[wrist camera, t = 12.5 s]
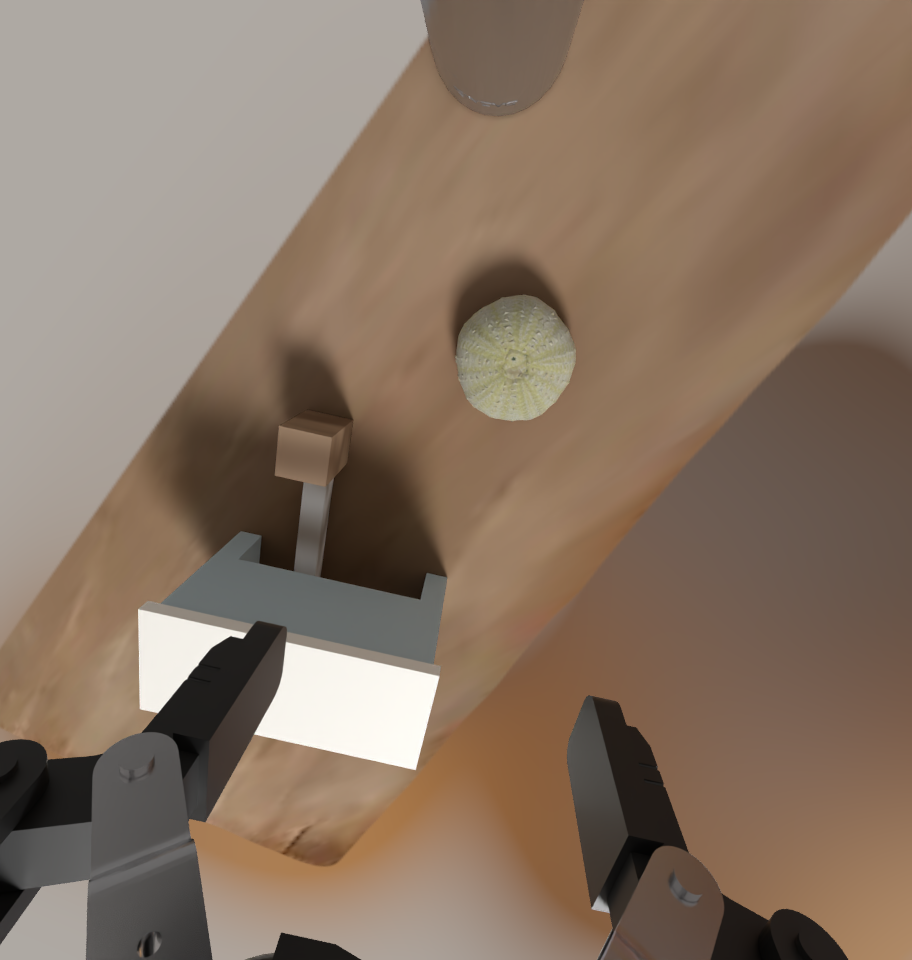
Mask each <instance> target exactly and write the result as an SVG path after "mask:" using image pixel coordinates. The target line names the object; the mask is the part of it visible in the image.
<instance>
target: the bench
mask: <svg viewBox="0 0 912 960" xmlns="http://www.w3.org/2000/svg"><path fill="white" fill-rule="evenodd" d="M261 537H262V536H260V535H256V534H251V533H247V532H243V531H240V532H239V533H238V534H237V535H236V536H235V537H234V538H233V539H232V540H230V541H229V542H228V543H227V544H226V545H225V546H224V547H223V548H222V549H220V550H219V551H218V552H217V553H216V554H215V555H214V556H213V557H212V558H210V559H209V560H208V561H207V562H206V563H205V564H204V565H203V566H202V567H200V568H199V569H198V570H197V571H196V572H195V573H194V574H193V575H192V576H190V577H189V578H188V579H187V580H186V581H185V582H184V583H183V584H182V585H180V586H179V587H178V588H177V589H176V590H175V591H174V592H173V593H172V594H170V595H169V596H168V597H167V598H166V599H165V600H164V601H163V602H162V603H156V602H151V601H147V602H146V603H145V604H144V605H143V606H142V607H140V608H139V609H138V617H139V682H140V709H142V710H147V711H151V712H156V713H158V712H159V711H160V710H161V709H162V708H163V706H164V705H165V704H166V703H167V701H168V700H169V699H170V698H171V697H172V695H173V694H174V693H175V692H176V690H177V689H178V688H179V687H180V686H181V684H182V683H183V682H184V681H185V680H187V678H188V676H189V675H190V673H191V672H192V671H193V670H194V668H195V667H197V666H198V664H199V662H200V661H201V660H202V659H203V657H204V656H205V655H206V654H207V653H208V651H209V650H210V649H211V648H212V647H213V646H215V645H217V644H218V643H220V642H222V641H223V640H225V639H226V638H228V637H230V636H232V637H237V638H241V639H243V638H244V637H245V635H246V634H247V633H248V631H249V630H250V629H251V627H252V626H253V625H254V623H255V622H256V621H263V622H267V623H272V624H276V625H281V626H285V627H286V628H287V638H286V647H285V655H284V664H283V672H282V678H281V681H280V685H279V688H278V690H277V693H276V695H275V697H274V699H273V701H272V703H271V704H270V706H269V708H268V710H267V712H266V713H265V715H264V717H263V719H262V721H261V723H260V724H259V726H258V728H257V730H256V732H255V733H254V734H255V735H260V736H264V737H269V738H273V739H278V740H283V741H287V742H292V743H296V744H301V745H305V746H310V747H314V748H319V749H323V750H328V751H332V752H337V753H341V754H346V755H350V756H355V757H359V758H364V759H369V760H373V761H378V762H382V763H387V764H391V765H396V766H400V767H405V768H409V769H414V770H416V766H417V762H418V758H419V754H420V750H421V746H422V742H423V738H424V735H425V731H426V727H427V723H428V719H429V715H430V711H431V707H432V703H433V699H434V695H435V692H436V688H437V684H438V680H439V676H440V668H441V666H438V665H434V658H435V651H436V645H437V639H438V633H439V627H440V620H441V614H442V608H443V602H444V595H445V589H446V583H447V577H443V576H438V575H434V574H430V573H427V574H426V578H425V582H424V587H423V591H422V595H421V599H420V600H419V599H415V598H410V597H406V596H401V595H397V594H392V593H388V592H383V591H379V590H374V589H370V588H365V587H361V586H357V585H352V584H348V583H343V582H339V581H334V580H330V579H325V578H321V577H316V576H312V575H307V574H303V573H299V572H294V571H290V570H285V569H281V568H276V567H272V566H267V565H263V564H259V561H260V549H261Z"/></svg>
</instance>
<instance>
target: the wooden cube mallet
mask: <svg viewBox="0 0 912 960" xmlns="http://www.w3.org/2000/svg"><path fill="white" fill-rule="evenodd" d="M352 426H353V420H352V419H347V418H343V417H338V416H334V415H330V414H325V413H321V412H316V411H312V410H306V411H304V412H302V413H301V414H299V415H297V416H295V417H294V418H292V419H290V420H288V421H287V422H285V423H283V424H281V425H279V431H278V443H277V454H276V465H275V476H279V477H283V478H288V479H292V480H297V481H301V482H304V484H303V493H302V502H301V511H300V520H299V529H298V538H297V547H296V556H295V565H294V572H299V573H303V574H307V575H312V576H316V577H321V570H322V562H323V555H324V547H325V540H326V532H327V525H328V517H329V510H330V502H331V495H332V488H333V480H334V477H335V476H336V475H337V474H338V473H339V472H340V471H341V469H342V468H343V467H344V466H345V465H346V464H347V461H348V454H349V447H350V440H351V433H352Z"/></svg>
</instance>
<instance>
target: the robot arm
mask: <svg viewBox="0 0 912 960" xmlns="http://www.w3.org/2000/svg"><path fill="white" fill-rule="evenodd" d="M583 2H584V0H421V4H422V8H423V12H424V17H425V22H426V27H427V31H428V35H429V40H430V44H431V48H432V53H433V57H434V61H435V64H436V67H437V69H438V72H439V75H440V77H441V79H442V80H443V82H444V84H445V85H446V87H447V89H448V90H449V91H450V92H451V94H452V95H453V96H454V97H455V98H456V99H457V100H458V101H459V102H460V103H462V104H463V105H465V106H466V107H468V108H469V109H471V110H473V111H476V112H478V113H481V114H484V115H492V116H503V115H510V114H514V113H516V112H519V111H521V110H524V109H526V108H528V107H529V106H531V105H532V104H533V103H535V102H536V101H538V100H539V99H540V98H541V97H542V96H543V95H544V94H545V93H546V92H547V91H548V90H549V89H550V87H551V86H552V84H553V83H554V81H555V80H556V78H557V77H558V75H559V73H560V71H561V69H562V66H563V64H564V62H565V59H566V57H567V54H568V50H569V47H570V44H571V41H572V37H573V34H574V31H575V28H576V25H577V22H578V18H579V15H580V12H581V8H582V5H583ZM286 638H287V628H286V627H285V626H281V625H276V624H272V623H267V622H263V621H256V622H255V623H254V625H253V626H252V627H251V629H250V630H249V631H248V633H247V634H246V635H245V637H244V638H243V639H241V638H237V637H232V636H230V637H228V638H226V639H225V640H223V641H222V642H220V643H218V644H217V645H215V646H213V647H212V648H211V649H210V650H209V651H208V653H207V654H206V655H205V656H204V657H203V659H202V660H201V661H200V662H199V664H198V666H197V667H195V668H194V670H193V671H192V672H191V673H190V675H189V676H188V678H187V680H185V681H184V682H183V683H182V684H181V686H180V687H179V688H178V689H177V690H176V692H175V693H174V694H173V695H172V697H171V698H170V699H169V700H168V701H167V703H166V704H165V705H164V706H163V708H162V709H161V710H160V711H159V712H158V714H157V715H156V716H155V717H154V719H153V720H152V721H151V722H150V723H149V725H148V726H147V727H146V728H145V729H144V730H143V732H142V733H140V734H135V735H132V736H129V737H127V738H125V739H122V740H120V741H119V742H117V743H115V744H114V745H113V746H111V747H110V748H109V749H108V750H107V751H105V752H104V753H103V754H100V755H95V756H88V757H75V758H63V759H50V760H47V754H46V750H45V749H44V747H43V746H42V745H41V744H39V743H37V742H35V741H31V740H23V739H20V740H10V741H4V742H1V743H0V944H1V943H2V941H3V940H4V939H5V937H6V936H7V934H8V933H9V931H10V930H11V929H12V927H13V926H14V925H15V923H16V922H17V920H18V919H19V918H20V916H21V914H22V913H23V912H24V910H25V909H26V908H27V906H28V905H29V903H30V902H31V901H32V899H33V898H34V897H35V895H36V894H37V892H38V891H39V890H40V888H41V887H42V886H49V885H55V884H61V883H69V882H76V881H82V880H89V879H90V880H89V883H88V902H87V942H86V943H87V944H86V960H212V953H211V947H210V940H209V933H208V926H207V919H206V912H205V906H204V898H203V892H202V885H201V878H200V871H199V864H198V857H197V851H196V846H195V842H194V839H191V836H190V831H189V824H188V821H189V819H193V820H197V821H202V822H206V820H207V818H208V816H209V815H210V813H211V811H212V809H213V807H214V806H215V804H216V802H217V800H218V798H219V797H220V795H221V793H222V791H223V789H224V788H225V786H226V784H227V782H228V780H229V779H230V777H231V775H232V773H233V771H234V770H235V768H236V766H237V764H238V762H239V760H240V759H241V757H242V755H243V753H244V751H245V750H246V748H247V746H248V744H249V742H250V741H251V739H252V737H253V735H254V733H255V732H256V730H257V728H258V726H259V724H260V723H261V721H262V719H263V717H264V715H265V713H266V712H267V710H268V708H269V706H270V704H271V703H272V701H273V699H274V697H275V695H276V693H277V690H278V688H279V685H280V681H281V678H282V672H283V664H284V655H285V647H286ZM567 764H568V770H569V776H570V782H571V788H572V794H573V800H574V806H575V812H576V818H577V824H578V830H579V836H580V842H581V848H582V854H583V860H584V866H585V872H586V878H587V884H588V890H589V896H590V901H591V907H592V909H594V910H599V911H603V912H608V913H610V917H611V922H612V927H613V929H612V931H611V932H610V934H609V936H608V938H607V940H606V943H605V945H604V947H603V949H602V951H601V953H600V955H599V957H598V959H597V960H848V958H847V957H846V955H845V954H844V952H843V951H842V949H841V948H840V947H839V945H838V944H837V943H836V942H835V940H833V938H832V937H831V936H830V935H829V934H828V933H827V932H826V931H825V930H824V929H823V928H822V927H820V926H819V925H818V924H817V923H815V922H814V921H813V920H811V919H810V918H808V917H806V916H805V915H803V914H801V913H799V912H796V911H794V910H789V909H781V910H778V911H776V912H775V913H774V914H773V915H772V917H771V918H770V920H767V919H765V918H763V917H761V916H760V915H757V914H756V913H754V912H752V911H751V910H749V909H747V908H745V907H743V906H742V905H740V904H738V903H736V902H734V901H733V900H731V899H729V898H728V897H726V896H725V895H723V894H722V893H721V891H720V889H719V887H718V884H717V882H716V881H715V879H714V878H713V876H712V875H711V873H710V872H709V871H708V869H707V868H706V867H705V866H704V865H703V864H702V863H701V862H700V861H699V860H698V859H697V858H695V857H694V856H693V855H691V854H690V853H689V852H688V850H687V846H686V844H685V841H684V838H683V836H682V833H681V830H680V827H679V824H678V822H677V819H676V816H675V813H674V811H673V808H672V805H671V802H670V799H669V797H668V794H667V791H666V788H665V787H663V780H662V777H661V775H660V772H659V771H658V770H657V767H658V766H657V764H656V761H655V758H654V756H653V753H652V750H651V747H650V745H649V744H648V743H647V741H646V740H645V739H644V737H643V736H642V735H641V733H640V732H639V731H638V729H637V728H636V727H631V726H627V725H626V723H625V719H624V716H623V713H622V710H621V707H620V705H619V703H618V702H616V701H612V700H608V699H603V698H599V697H594V696H587V697H586V699H585V700H584V703H583V705H582V708H581V710H580V713H579V716H578V718H577V720H576V723H575V725H574V728H573V731H572V733H571V736H570V738H569V743H568V749H567ZM246 960H361V959H359V958H357V957H356V956H354V955H352V954H351V953H349V952H347V951H346V950H344V949H342V948H341V947H339V946H337V945H336V944H331V943H327V942H322V941H317V940H313V939H308V938H304V937H299V936H294V935H290V934H285V933H281V935H280V938H279V941H278V944H277V947H276V950H275V953H271V954H263V955H259V956H256V957H252V958H249V959H246Z"/></svg>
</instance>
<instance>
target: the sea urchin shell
mask: <svg viewBox="0 0 912 960" xmlns="http://www.w3.org/2000/svg"><path fill="white" fill-rule="evenodd" d="M575 352H576V348H575V345H574V342H573V340H572V337H571V335H570V333H569V329H568V328H567V327H566V326H565V324H564V323H563V322H562V321H561V319H560V318H559V317H558V315H557V314H556V312H555V310H554V309H552V308H551V307H549V306H548V305H546V304H545V303H544V302H543V301H541V300H540V299H538V298H537V297H533V296H528V295H525V294H524V295H516V296H511V297H505V298H504V297H502V298H500V299H499V300H497V301H495V302H493V303H491V304H490V305H487V306H484V307H483V308H482V309H481V308H480V309H479V311H478V312H476V313H475V314H473V316H472V317H471V318H470V319H469V320H468V321H467V322H466V323H465V324H464V325H463V327H462V329H461V331H460V334H459V335H458V342H457V350H456V356H455V358H456V363H457V368H458V377H459V379H458V380H459V381H460V383H461V386H462V388H463V391H464V393H465V396H466V399H467V400H468V401H469V402H470V403H471V404H472V405H473V407H475V408H476V409H478V410H480V411H482V412H483V413H485V414H486V415H488V416H489V417H492V418H495V419H503V420H510V421H515V420H530V419H533V418H535V417H537V416H539V415H542V414H543V413H544V412H545V411H546V410H547V409H548V408H549V407H550V406H551V405H552V404H553V403H555V402H557V399H558V398H559V396H560V394H561V393H562V392H563V390H564V389H565V387H566V386H567V384H568V383H569V382H570V377H571V374H572V371H573V368H574V366H575V362H576V353H575Z"/></svg>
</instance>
